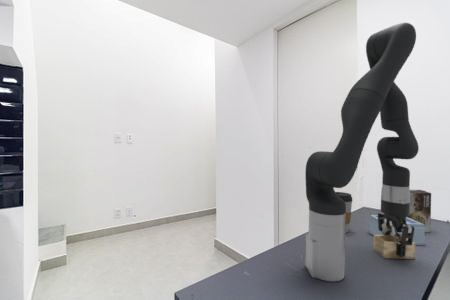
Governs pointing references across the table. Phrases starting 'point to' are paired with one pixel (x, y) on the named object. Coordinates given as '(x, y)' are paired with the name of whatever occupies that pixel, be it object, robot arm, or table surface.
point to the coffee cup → (348, 201)
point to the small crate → (391, 247)
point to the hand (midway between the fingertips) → (393, 250)
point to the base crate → (417, 237)
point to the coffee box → (421, 207)
